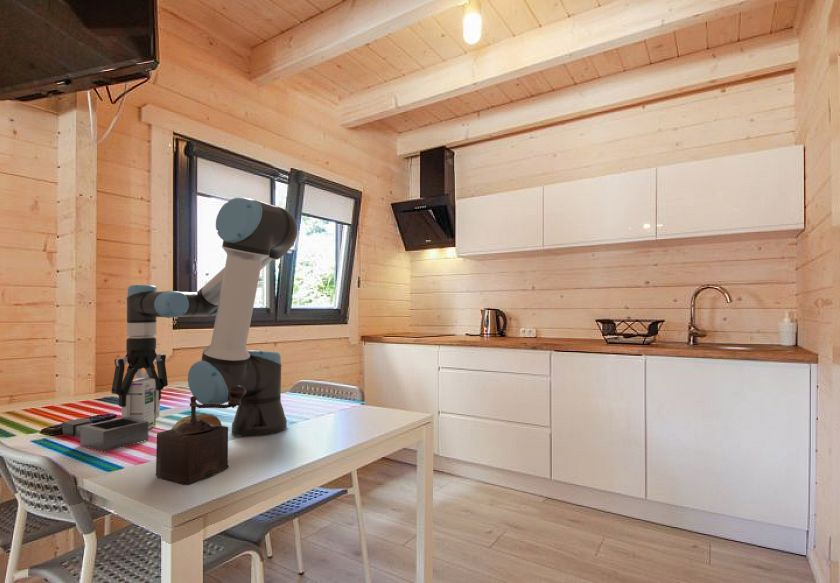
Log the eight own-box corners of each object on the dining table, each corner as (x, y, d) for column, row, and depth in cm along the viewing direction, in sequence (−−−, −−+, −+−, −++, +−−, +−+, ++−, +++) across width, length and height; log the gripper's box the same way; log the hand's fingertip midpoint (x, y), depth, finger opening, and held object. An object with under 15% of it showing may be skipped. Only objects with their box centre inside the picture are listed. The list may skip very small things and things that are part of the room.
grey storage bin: (148, 440, 120) (148, 421, 120) (103, 452, 111) (103, 431, 111) (93, 426, 134) (93, 410, 134) (49, 436, 124) (49, 418, 124)
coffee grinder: (189, 486, 90) (190, 396, 90) (154, 477, 94) (155, 392, 95) (249, 462, 104) (250, 384, 104) (216, 455, 108) (217, 380, 109)
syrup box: (144, 431, 129) (144, 380, 129) (123, 431, 129) (124, 380, 129) (155, 426, 134) (156, 377, 135) (136, 426, 134) (137, 377, 135)
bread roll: (233, 439, 121) (233, 410, 121) (184, 457, 107) (184, 423, 107) (207, 435, 125) (207, 406, 125) (157, 451, 111) (157, 419, 111)
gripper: (167, 334, 143) (166, 406, 142) (96, 338, 125) (95, 420, 124) (182, 335, 139) (181, 408, 139) (111, 339, 122) (109, 424, 121)
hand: (140, 414), depth 132 cm, fingers closed on syrup box, 8 cm apart
